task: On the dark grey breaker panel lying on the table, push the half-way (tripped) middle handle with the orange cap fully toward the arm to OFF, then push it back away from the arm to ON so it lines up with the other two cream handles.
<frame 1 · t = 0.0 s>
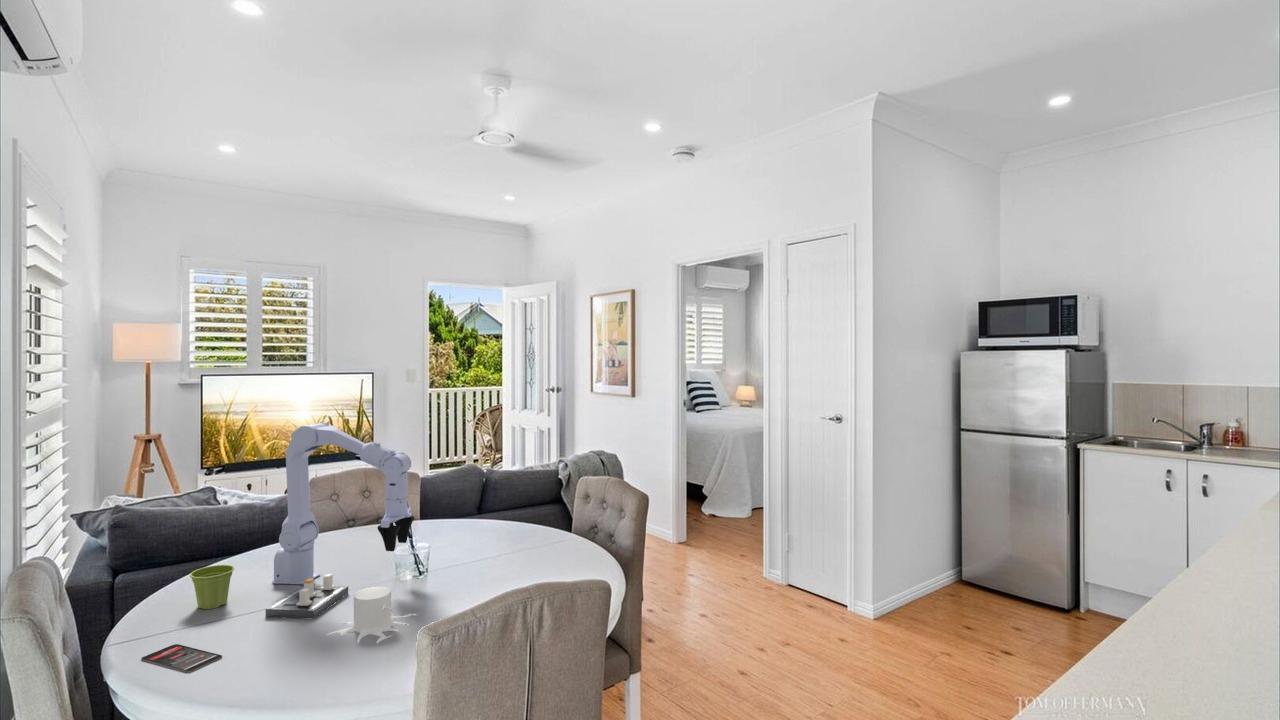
hand: (396, 546, 177), 10 cm above the table, tool pointing down, fingers open, 7 cm apart
breaker far: (327, 581, 166), point 4 cm above the table, slide at 4.0 cm
breaker mid: (308, 587, 161), point 4 cm above the table, slide at 2.0 cm
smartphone: (181, 661, 133), on the table
tree stump: (374, 627, 150), on the table
plant pot: (212, 605, 161), on the table
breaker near: (304, 596, 156), point 4 cm above the table, slide at 4.0 cm
panel: (308, 604, 161), on the table
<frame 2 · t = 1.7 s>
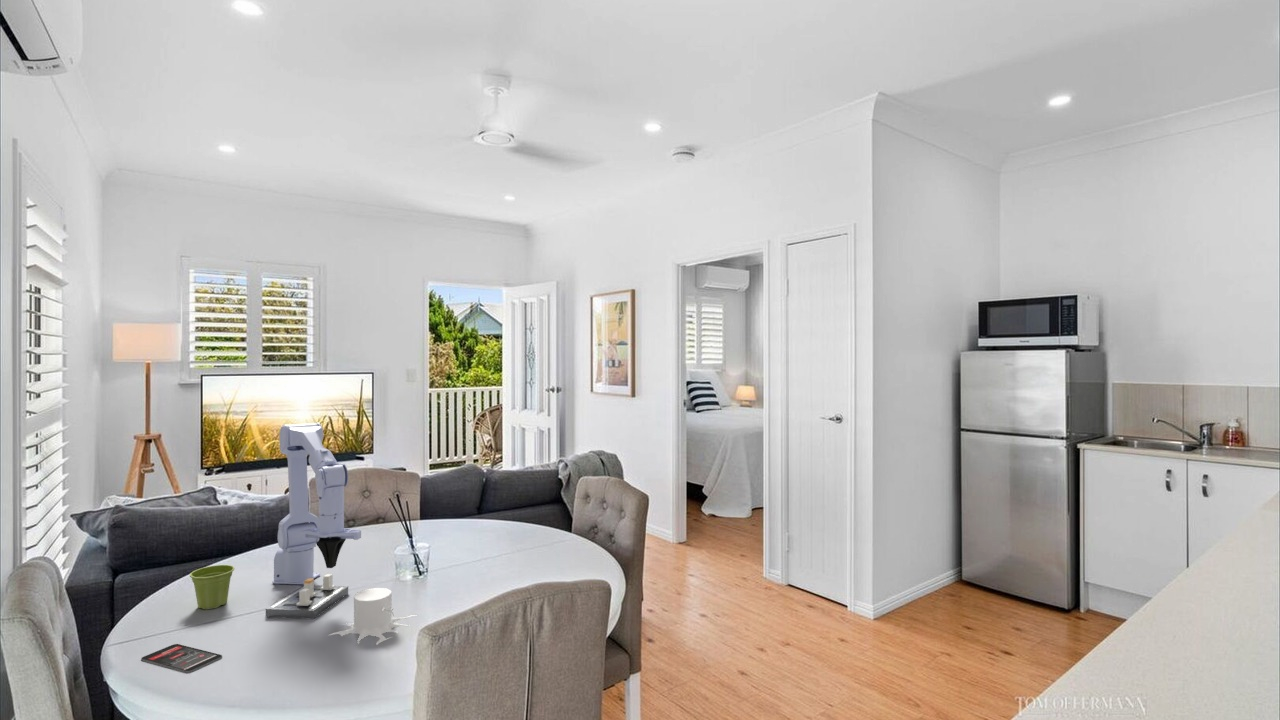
hand: (331, 566, 161), 10 cm above the table, tool pointing down, fingers closed
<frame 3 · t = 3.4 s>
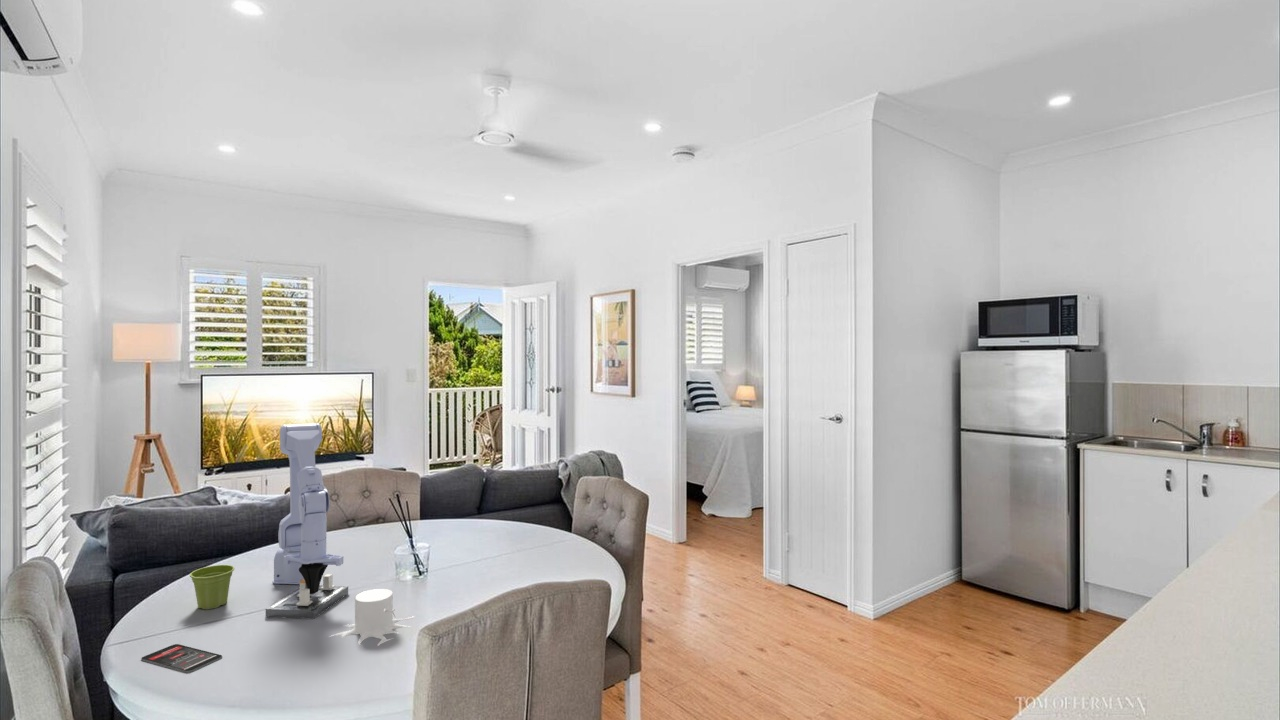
hand: (313, 592, 161), 3 cm above the table, tool pointing down, fingers closed
breaker mid: (304, 587, 161), point 4 cm above the table, slide at 0.9 cm, touching gripper
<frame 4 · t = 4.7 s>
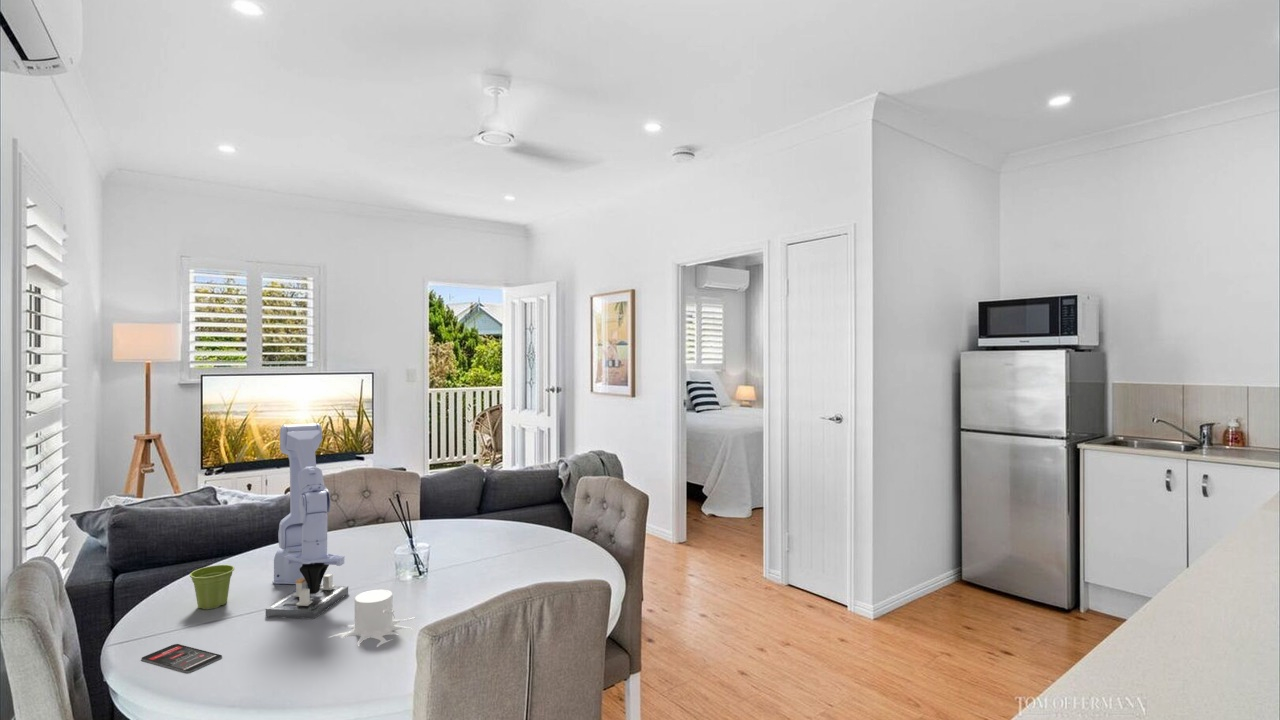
hand: (314, 592, 161), 3 cm above the table, tool pointing down, fingers closed
breaker mid: (301, 587, 161), point 4 cm above the table, slide at -0.1 cm
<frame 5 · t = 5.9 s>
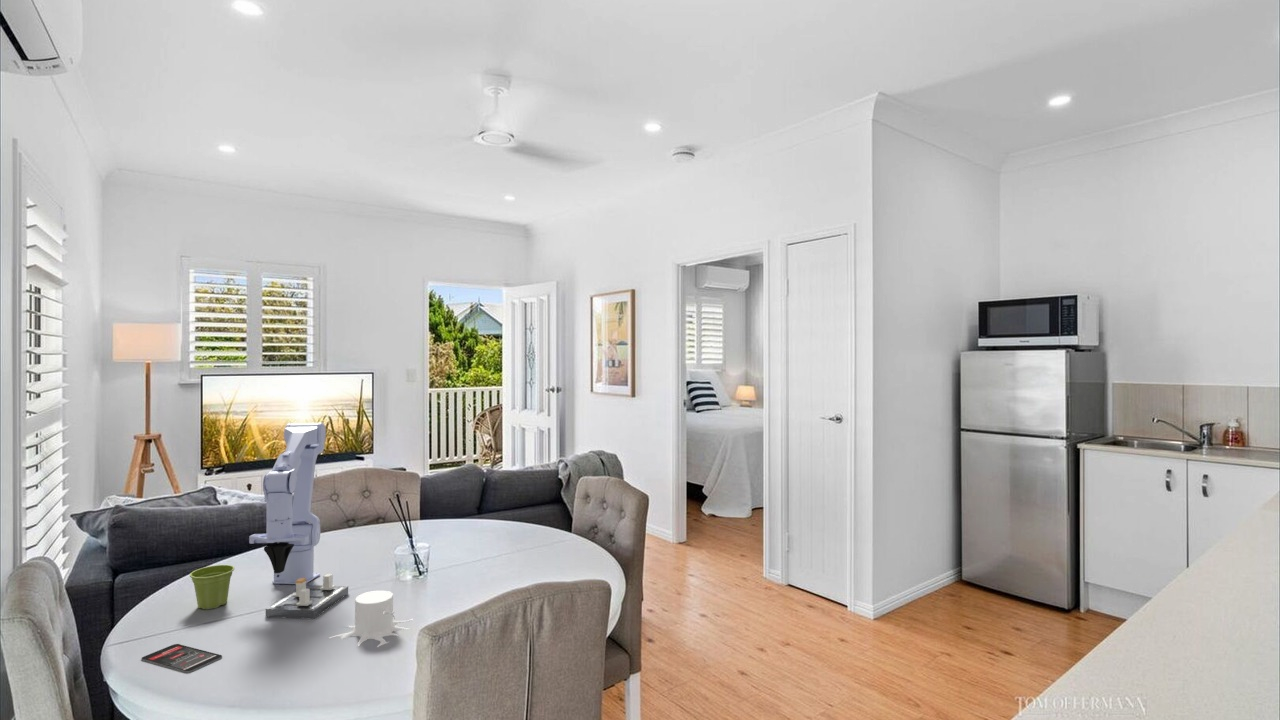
hand: (279, 571, 162), 8 cm above the table, tool pointing down, fingers closed
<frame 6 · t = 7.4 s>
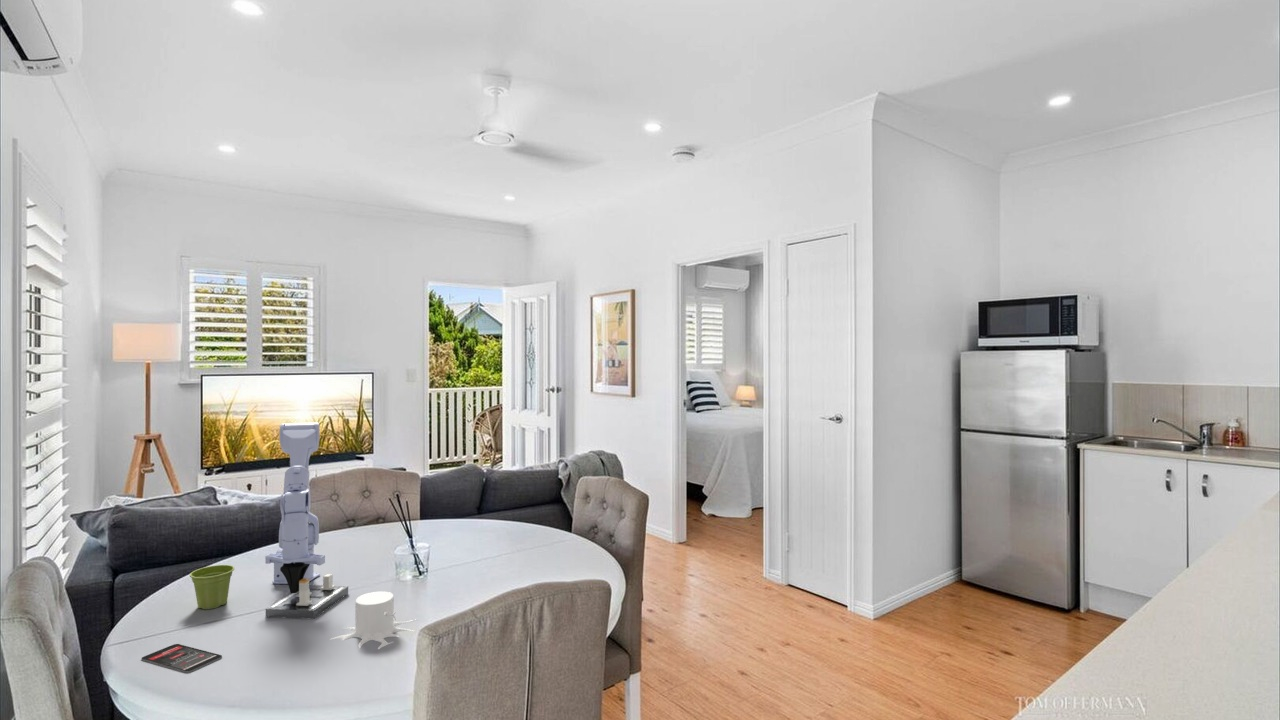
hand: (295, 591, 161), 3 cm above the table, tool pointing down, fingers closed
breaker mid: (304, 587, 161), point 4 cm above the table, slide at 0.7 cm, touching gripper
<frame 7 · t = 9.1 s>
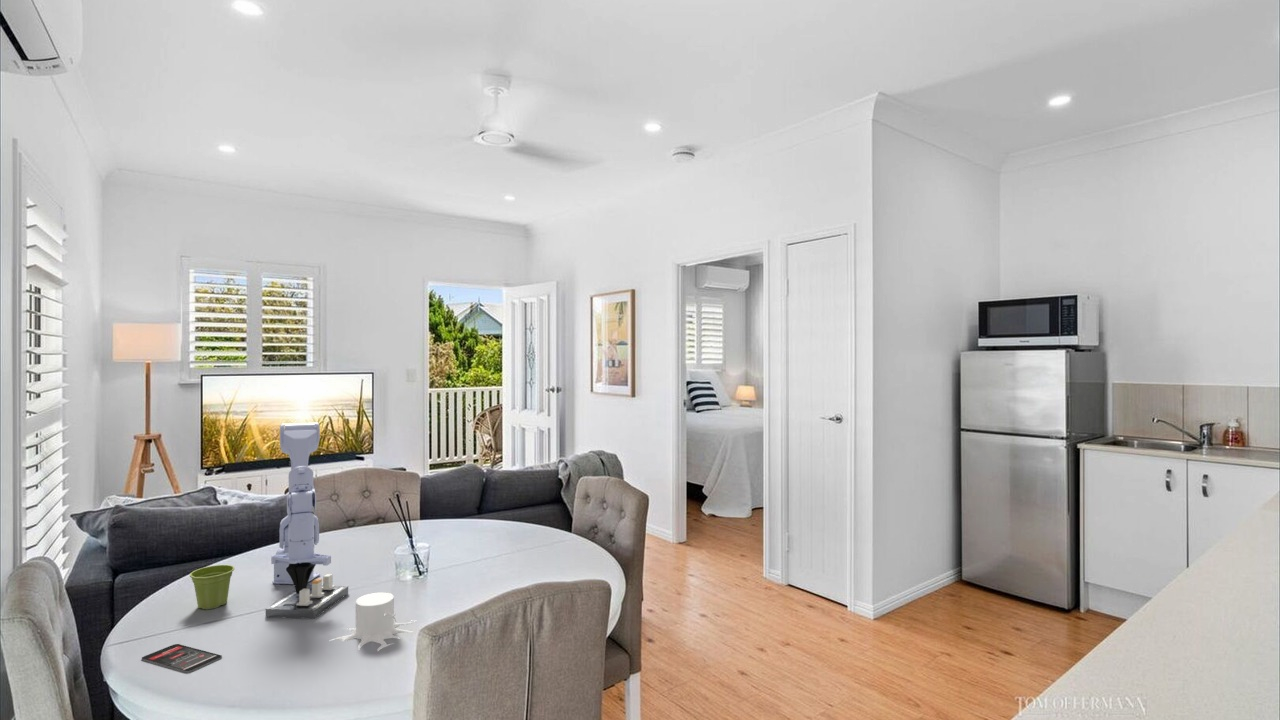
hand: (301, 592, 161), 3 cm above the table, tool pointing down, fingers closed
breaker mid: (316, 587, 161), point 4 cm above the table, slide at 4.1 cm
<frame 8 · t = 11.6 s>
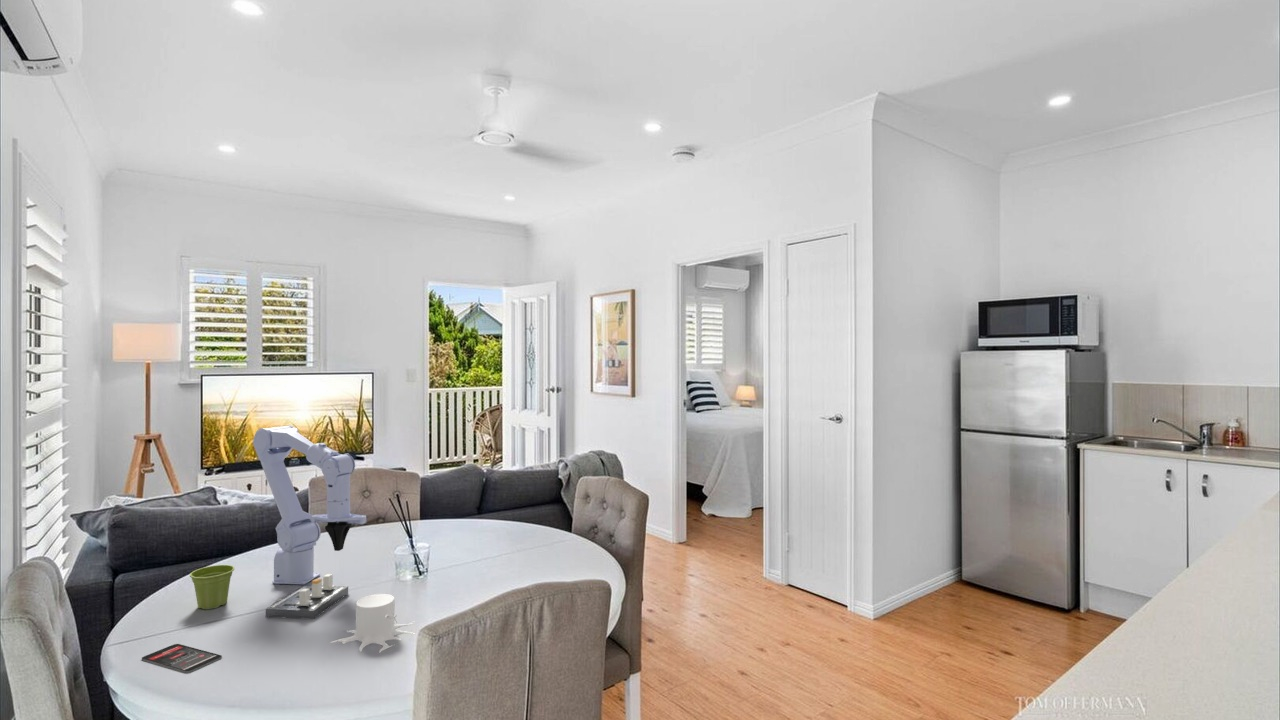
hand: (338, 549, 173), 10 cm above the table, tool pointing down, fingers closed
at the end: breaker mid slide at 4.1 cm; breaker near slide at 4.0 cm; breaker far slide at 4.0 cm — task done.
